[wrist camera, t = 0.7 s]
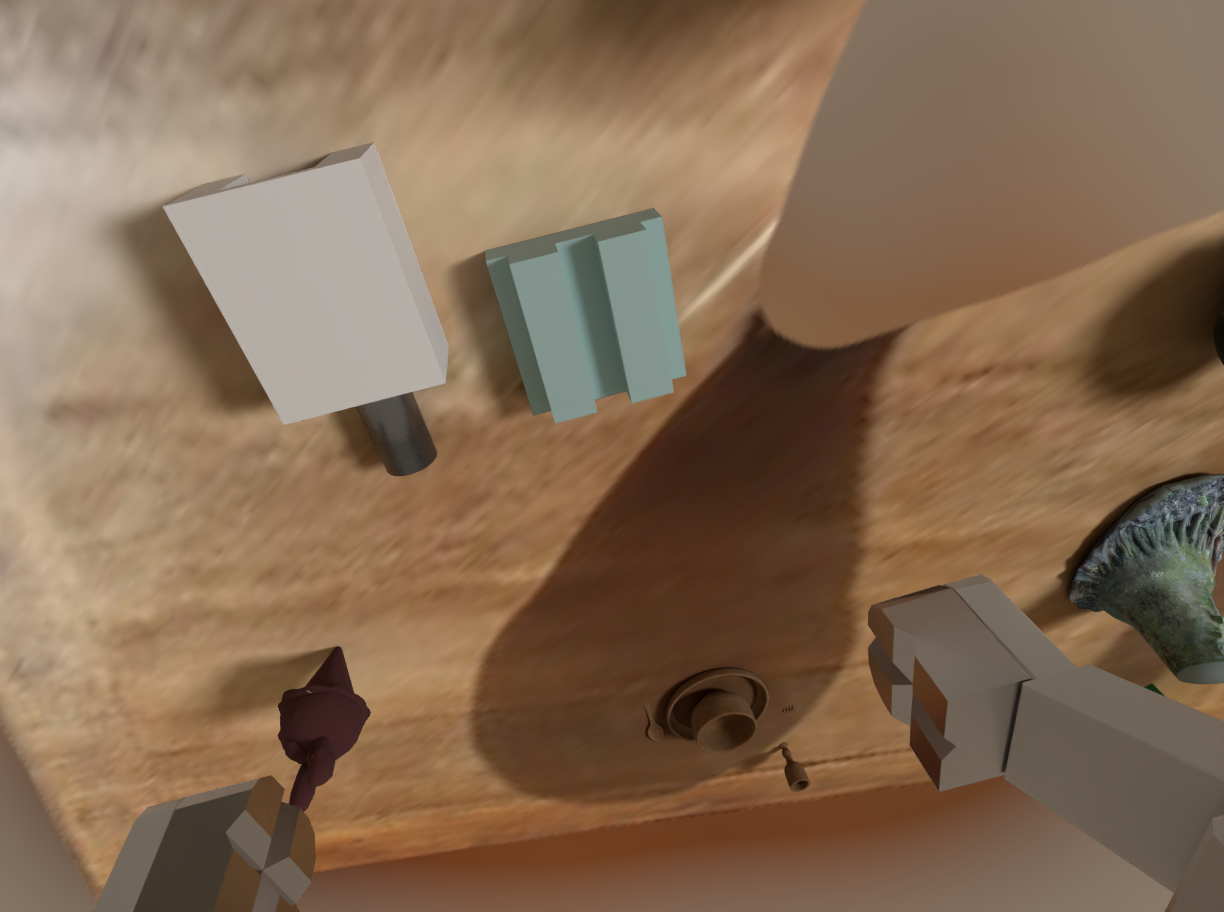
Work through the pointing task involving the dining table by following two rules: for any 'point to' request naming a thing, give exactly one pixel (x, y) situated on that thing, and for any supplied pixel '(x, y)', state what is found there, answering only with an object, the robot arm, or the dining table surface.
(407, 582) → the dining table surface
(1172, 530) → the green grey mushroom
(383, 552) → the dining table surface
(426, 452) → the axle
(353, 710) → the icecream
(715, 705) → the place setting
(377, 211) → the white notched block
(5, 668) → the dining table surface
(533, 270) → the v block
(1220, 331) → the squash
